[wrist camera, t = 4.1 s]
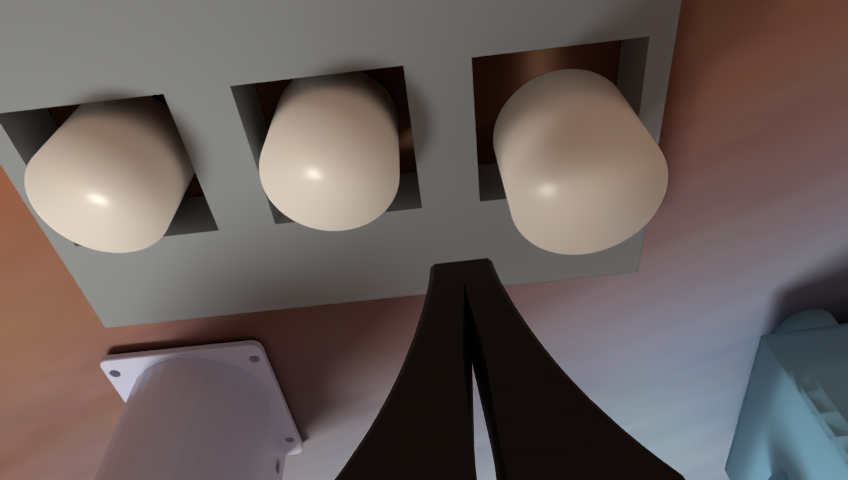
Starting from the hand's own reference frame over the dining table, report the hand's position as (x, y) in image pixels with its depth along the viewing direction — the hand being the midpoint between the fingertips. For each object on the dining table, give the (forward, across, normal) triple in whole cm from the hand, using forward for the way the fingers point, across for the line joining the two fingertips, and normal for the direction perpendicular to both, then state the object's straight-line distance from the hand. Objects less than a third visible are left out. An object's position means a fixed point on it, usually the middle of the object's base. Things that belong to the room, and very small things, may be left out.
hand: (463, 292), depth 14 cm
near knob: (+7, -4, 0) cm, 8 cm away
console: (+10, +4, 0) cm, 11 cm away
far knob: (+10, +11, 0) cm, 15 cm away
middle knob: (+9, +4, 0) cm, 10 cm away
